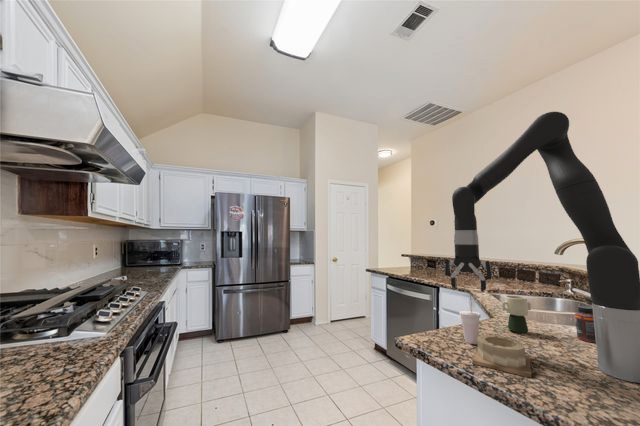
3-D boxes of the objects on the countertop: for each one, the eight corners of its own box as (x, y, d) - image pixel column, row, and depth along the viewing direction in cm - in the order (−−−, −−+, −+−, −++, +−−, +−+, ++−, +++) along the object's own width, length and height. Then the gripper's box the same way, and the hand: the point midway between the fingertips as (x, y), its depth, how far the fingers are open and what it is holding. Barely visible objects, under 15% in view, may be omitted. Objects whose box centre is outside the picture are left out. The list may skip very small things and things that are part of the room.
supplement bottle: (606, 343, 90) (602, 309, 91) (588, 343, 90) (585, 309, 92) (589, 337, 96) (586, 305, 97) (572, 337, 96) (569, 304, 97)
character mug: (525, 328, 105) (522, 295, 107) (540, 335, 98) (537, 298, 100) (497, 328, 105) (495, 295, 107) (510, 334, 98) (507, 298, 100)
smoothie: (480, 347, 87) (478, 303, 88) (459, 342, 90) (456, 300, 92) (483, 341, 92) (480, 299, 93) (462, 337, 95) (460, 297, 97)
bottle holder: (529, 359, 77) (527, 340, 78) (531, 377, 67) (529, 355, 68) (477, 349, 85) (476, 331, 86) (472, 363, 75) (471, 343, 75)
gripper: (490, 243, 93) (493, 290, 92) (446, 243, 102) (448, 286, 100) (488, 243, 87) (491, 294, 86) (442, 243, 96) (444, 289, 94)
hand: (468, 290), depth 93 cm, fingers open, 8 cm apart
